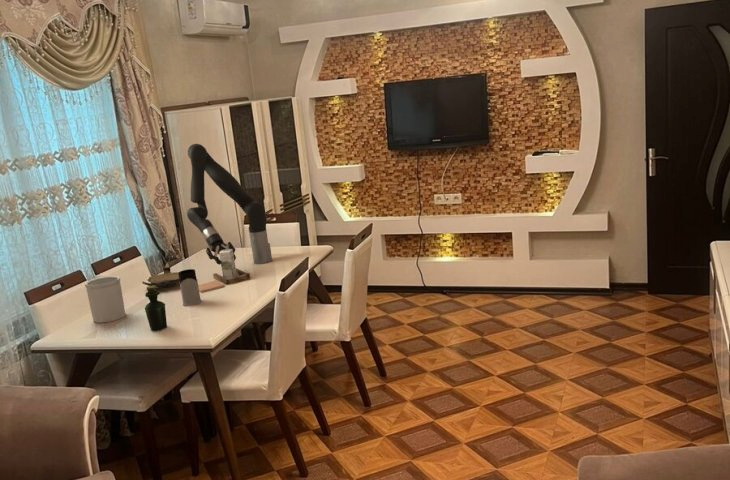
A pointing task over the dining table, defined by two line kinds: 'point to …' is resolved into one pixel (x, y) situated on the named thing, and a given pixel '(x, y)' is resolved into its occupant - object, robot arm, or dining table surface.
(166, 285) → the oil lamp
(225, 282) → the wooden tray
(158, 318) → the potion bottle
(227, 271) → the syrup box
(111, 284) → the utensil holder
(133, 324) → the dining table surface
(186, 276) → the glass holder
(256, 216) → the robot arm
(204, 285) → the terracotta pad
